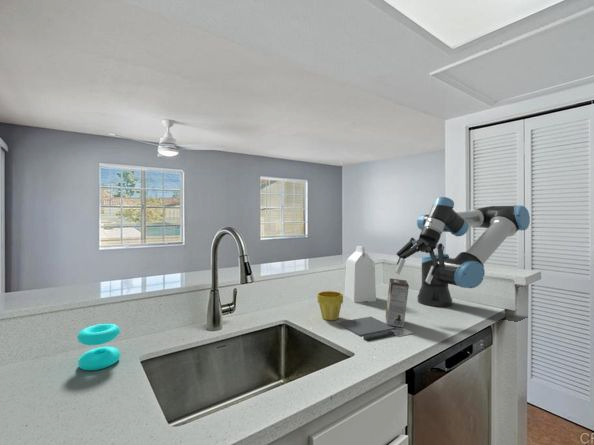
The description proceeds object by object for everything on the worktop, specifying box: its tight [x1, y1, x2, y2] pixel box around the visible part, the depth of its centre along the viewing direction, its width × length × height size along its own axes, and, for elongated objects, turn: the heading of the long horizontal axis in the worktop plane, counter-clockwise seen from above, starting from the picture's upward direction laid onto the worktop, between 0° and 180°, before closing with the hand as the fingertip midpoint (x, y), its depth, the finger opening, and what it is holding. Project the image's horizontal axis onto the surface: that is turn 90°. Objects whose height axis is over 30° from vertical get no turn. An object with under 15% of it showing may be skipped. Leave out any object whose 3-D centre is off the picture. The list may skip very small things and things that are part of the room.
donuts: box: [77, 323, 121, 371], centre depth 88 cm, size 10×10×10 cm
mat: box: [336, 316, 396, 337], centre depth 118 cm, size 16×14×1 cm
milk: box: [343, 245, 377, 303], centre depth 157 cm, size 12×12×26 cm
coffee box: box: [385, 278, 410, 328], centre depth 121 cm, size 9×6×16 cm
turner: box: [363, 327, 414, 342], centre depth 109 cm, size 19×5×1 cm, turn 116°
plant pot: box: [316, 290, 344, 321], centre depth 128 cm, size 10×10×10 cm
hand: (411, 277), depth 126 cm, fingers open, 13 cm apart
